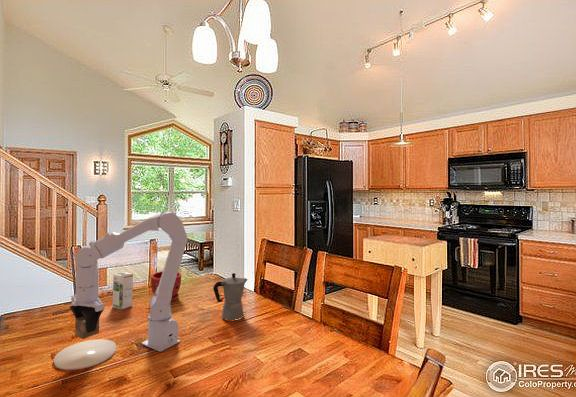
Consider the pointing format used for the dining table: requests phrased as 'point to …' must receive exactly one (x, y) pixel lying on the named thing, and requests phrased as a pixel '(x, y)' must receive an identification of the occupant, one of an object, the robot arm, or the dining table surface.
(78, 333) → the walnut block
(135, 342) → the dining table surface
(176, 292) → the plant pot
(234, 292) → the coffeepot
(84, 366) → the white plate
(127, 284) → the syrup box
